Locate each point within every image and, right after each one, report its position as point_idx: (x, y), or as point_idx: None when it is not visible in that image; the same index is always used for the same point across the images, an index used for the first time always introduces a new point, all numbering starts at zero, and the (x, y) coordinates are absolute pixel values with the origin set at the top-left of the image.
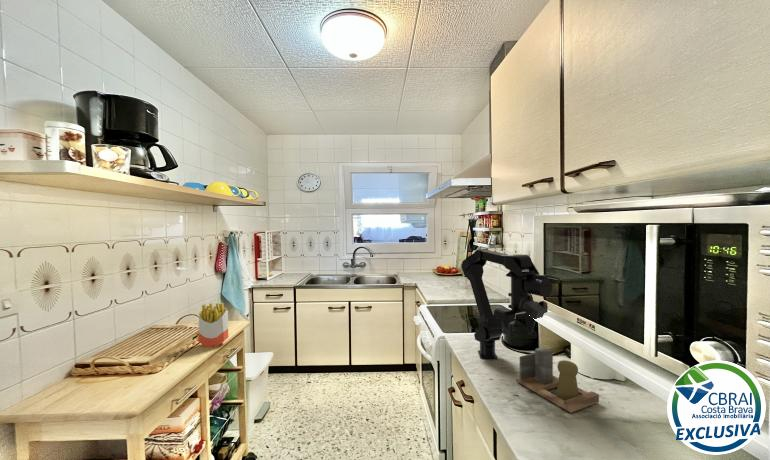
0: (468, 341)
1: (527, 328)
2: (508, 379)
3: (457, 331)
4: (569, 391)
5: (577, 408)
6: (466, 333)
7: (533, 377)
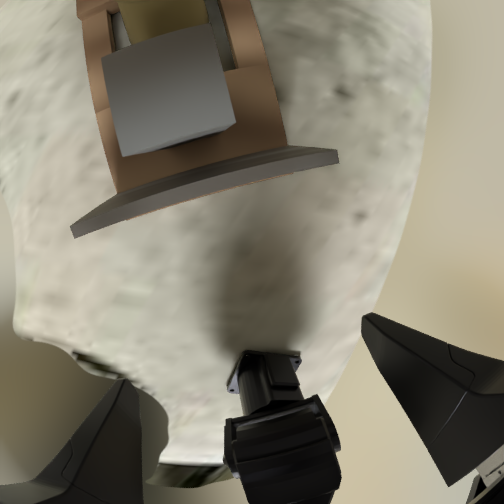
0: None
1: (137, 433)
2: (302, 199)
3: None
4: None
5: None
6: None
7: (212, 157)
